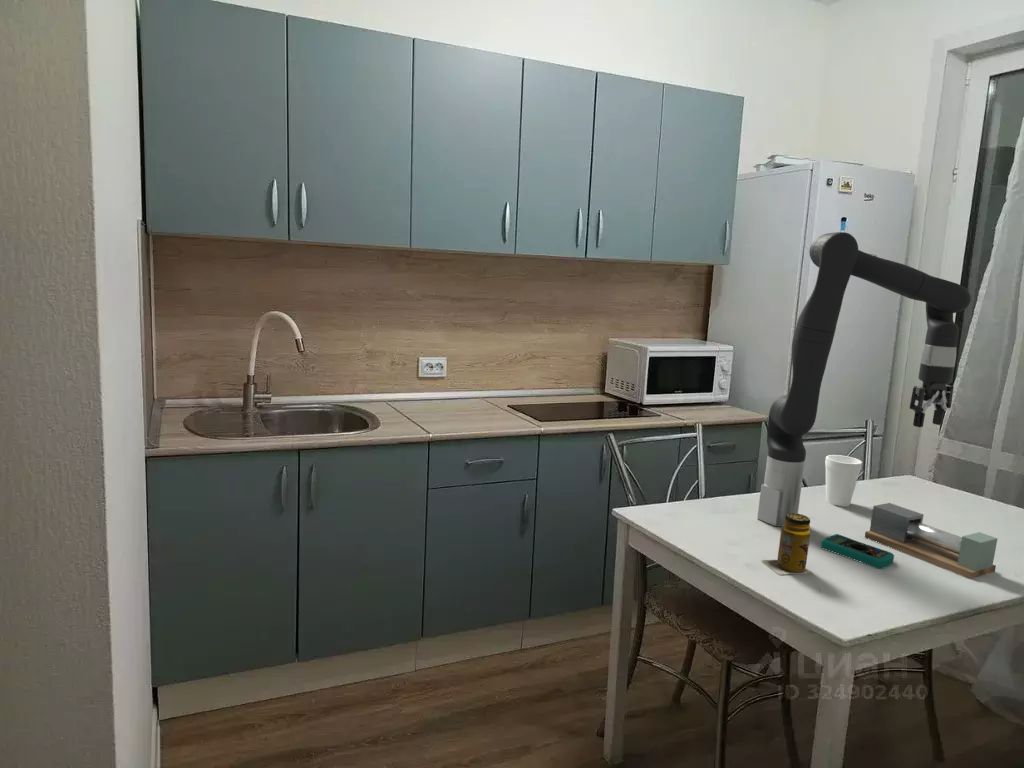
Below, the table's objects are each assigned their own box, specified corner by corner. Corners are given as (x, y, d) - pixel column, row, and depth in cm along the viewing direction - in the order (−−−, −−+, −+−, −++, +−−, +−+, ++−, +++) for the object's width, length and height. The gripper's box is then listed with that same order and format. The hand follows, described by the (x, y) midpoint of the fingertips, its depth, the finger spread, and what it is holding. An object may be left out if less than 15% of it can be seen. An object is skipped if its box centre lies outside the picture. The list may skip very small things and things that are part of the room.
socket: (975, 571, 163) (980, 542, 161) (957, 564, 166) (962, 536, 165) (992, 566, 166) (997, 538, 165) (974, 559, 170) (979, 532, 168)
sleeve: (903, 543, 177) (907, 517, 176) (869, 530, 185) (873, 505, 184) (919, 539, 180) (923, 514, 179) (885, 527, 188) (889, 502, 187)
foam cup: (813, 497, 214) (819, 454, 212) (840, 496, 217) (846, 454, 214) (834, 508, 205) (841, 464, 203) (862, 507, 208) (869, 463, 205)
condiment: (813, 573, 160) (821, 521, 158) (779, 575, 158) (786, 522, 156) (794, 560, 167) (800, 510, 165) (760, 561, 165) (767, 511, 163)
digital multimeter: (881, 572, 164) (883, 559, 164) (818, 549, 176) (820, 537, 175) (895, 565, 169) (897, 553, 168) (834, 543, 180) (835, 531, 180)
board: (970, 579, 162) (971, 572, 162) (864, 537, 184) (865, 531, 184) (994, 571, 167) (995, 565, 167) (888, 531, 189) (889, 526, 189)
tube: (974, 562, 164) (977, 546, 164) (894, 533, 180) (897, 517, 180) (983, 560, 166) (986, 543, 166) (904, 530, 182) (906, 515, 182)
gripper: (939, 360, 191) (929, 420, 194) (906, 361, 184) (897, 424, 187) (968, 365, 185) (957, 427, 188) (936, 366, 178) (925, 430, 181)
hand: (927, 425), depth 188 cm, fingers open, 8 cm apart
